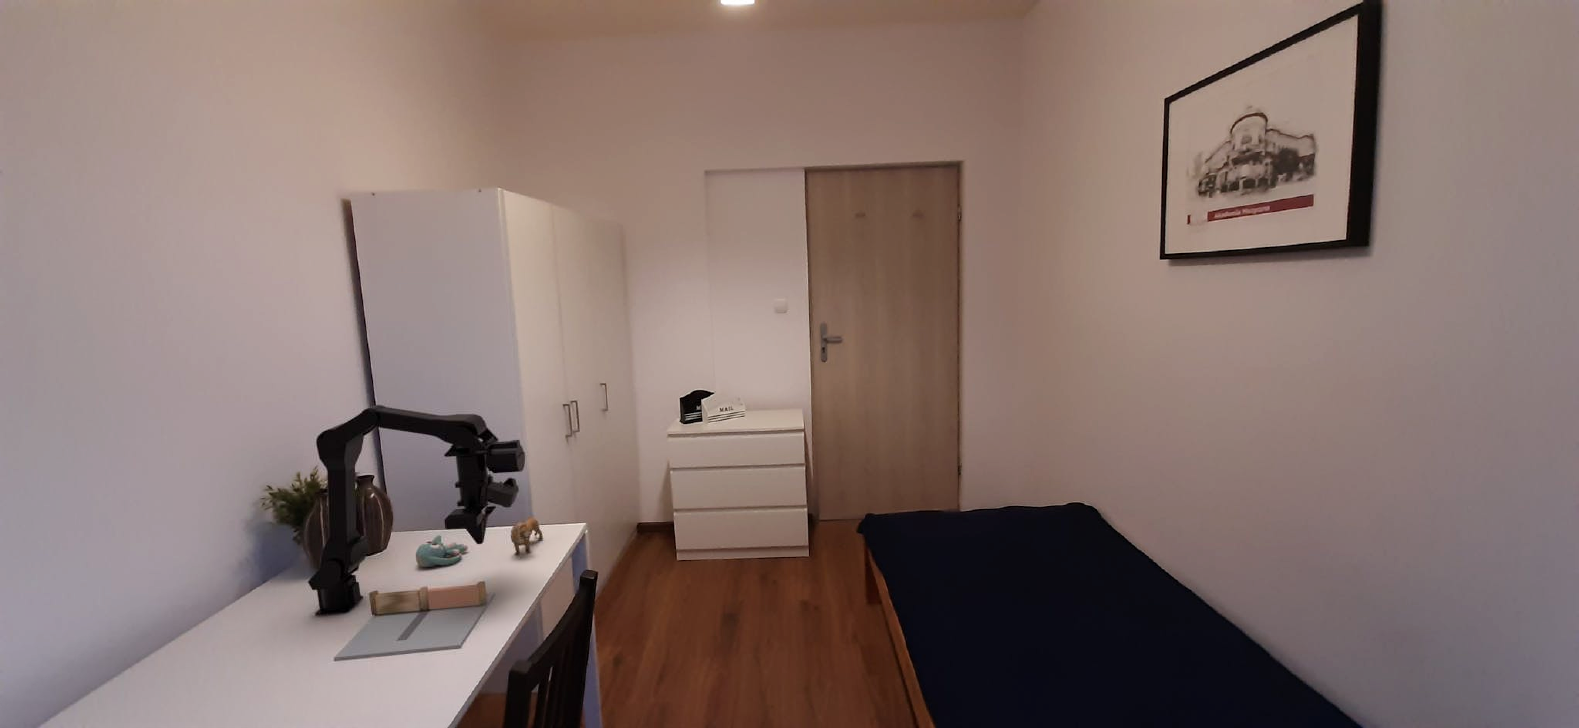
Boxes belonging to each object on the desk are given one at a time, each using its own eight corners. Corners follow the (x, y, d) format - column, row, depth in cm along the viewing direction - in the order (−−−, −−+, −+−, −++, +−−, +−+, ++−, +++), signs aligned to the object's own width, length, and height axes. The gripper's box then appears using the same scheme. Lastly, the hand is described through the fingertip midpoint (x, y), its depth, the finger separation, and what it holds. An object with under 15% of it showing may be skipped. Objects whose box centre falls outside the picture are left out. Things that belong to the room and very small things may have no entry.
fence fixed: (370, 615, 130) (367, 595, 130) (374, 611, 132) (371, 591, 131) (419, 610, 132) (416, 590, 131) (422, 606, 133) (420, 586, 132)
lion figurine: (532, 560, 156) (528, 525, 154) (509, 562, 155) (505, 527, 154) (545, 535, 170) (542, 503, 169) (524, 537, 169) (521, 505, 168)
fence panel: (421, 610, 132) (418, 590, 131) (424, 606, 133) (422, 586, 133) (485, 604, 133) (483, 584, 133) (488, 600, 135) (486, 581, 134)
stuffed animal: (478, 534, 159) (429, 543, 149) (476, 563, 159) (427, 574, 149) (455, 526, 165) (407, 534, 155) (453, 554, 165) (404, 563, 155)
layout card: (334, 660, 117) (333, 657, 117) (387, 604, 136) (387, 601, 136) (460, 647, 119) (459, 644, 119) (494, 595, 139) (494, 592, 139)
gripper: (498, 485, 127) (505, 559, 129) (524, 459, 145) (530, 523, 148) (439, 490, 126) (448, 564, 128) (473, 462, 144) (480, 527, 146)
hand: (480, 543), depth 138 cm, fingers closed
